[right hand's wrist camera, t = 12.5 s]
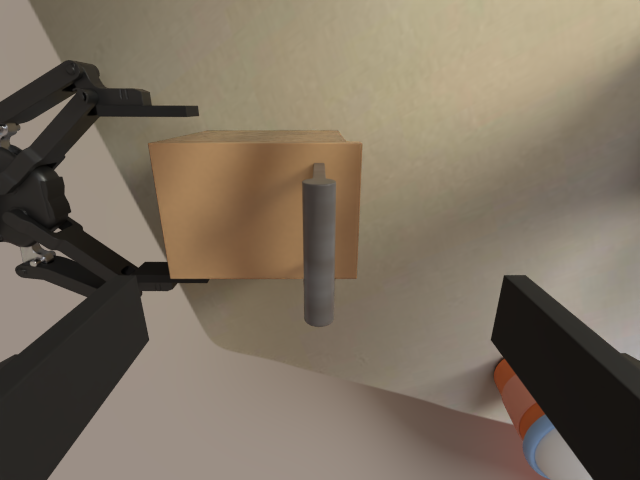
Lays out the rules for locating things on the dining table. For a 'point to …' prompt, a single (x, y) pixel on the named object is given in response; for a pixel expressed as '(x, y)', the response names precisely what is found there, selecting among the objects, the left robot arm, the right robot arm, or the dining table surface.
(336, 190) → the lid
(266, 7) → the dining table surface
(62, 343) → the right robot arm
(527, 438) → the cup with straw
